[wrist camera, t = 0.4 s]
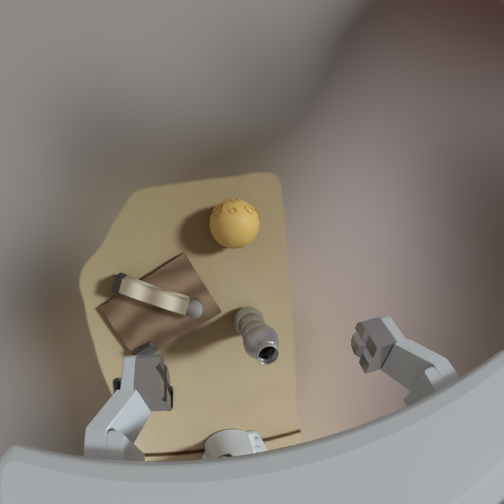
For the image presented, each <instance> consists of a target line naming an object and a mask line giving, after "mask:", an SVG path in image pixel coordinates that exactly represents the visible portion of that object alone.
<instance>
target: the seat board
mask: <svg viewBox="0 0 504 504" xmlns="http://www.w3.org/2000/svg"><path fill="white" fill-rule="evenodd" d="M141 281H144V282H147V283H150V284H153V285H155V286H158V287H161V288H164V289H167V290H170V291H173V292H176V293H180V294H183V295H186V296H189V297H190V299H192V298H197V299H199V300H200V301H201V303H202V314H201V316H200V317H198V318H191V317H189V316H188V314H187V311H186V314H185V315H182V314H179V313H176V312H173V311H170V310H167V309H164V308H161V307H158V306H155V305H152V304H149V303H146V302H143V301H140V300H137V299H134V298H132V297H129V296H126V295H123V294H121V293H120V294H119V295H117V296H116V297H114V298H113V299H111V300H110V301H108V302H107V303H105V304H104V305H102V306H101V307H100V309H101V311H102V312H103V314H104V315H105V317H106V318H107V320H108V321H109V323H110V324H111V325H112V327H113V328H114V330H115V331H116V333H117V334H118V335H119V337H120V338H121V339H122V341H123V342H124V343H125V345H126V346H127V348H128V349H129V350H130V351H131V353H132V354H133V355H153V354H155V351H157V350H159V349H160V348H162V347H164V346H166V345H167V344H169V343H171V342H172V341H174V340H176V339H178V338H179V337H181V336H183V335H184V334H186V333H188V332H189V331H191V330H193V329H194V328H196V327H198V326H199V325H201V324H203V323H204V322H206V321H208V320H209V319H211V318H213V317H214V316H216V315H218V314H219V313H221V310H220V308H219V307H218V305H217V304H216V302H215V301H214V299H213V298H212V296H211V295H210V293H209V291H208V290H207V288H206V287H205V285H204V284H203V282H202V281H201V279H200V277H199V276H198V274H197V273H196V271H195V269H194V268H193V266H192V265H191V263H190V261H189V260H188V258H187V257H186V255H185V253H183V254H181V255H180V256H178V257H176V258H175V259H173V260H172V261H170V262H168V263H167V264H165V265H164V266H162V267H160V268H159V269H157V270H156V271H154V272H153V273H151V274H150V275H148V276H146V277H145V278H143V279H142V280H141Z"/></svg>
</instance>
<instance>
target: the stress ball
mask: <svg viewBox="0 0 504 504" xmlns="http://www.w3.org/2000/svg"><path fill="white" fill-rule="evenodd" d="M259 220H260V217H259V214H258V212H257V210H256V209H254V208H253V207H252V206H251V205H250V204H249V203H247V202H245V201H243V200H239V199H230V200H226V201H224V202H222V203H220V204H219V205H217V206H215V208H214V209H213V212H212V214H211V216H210V218H209V222H210V231H211V233H212V236H213V237H214V239H215V240H216V241H217V242H218V243H219V244H221V245H222V246H224V247H227V248H233V249H236V248H242V247H244V246H246V245H248V244H249V243H251V242H252V241H253V240H254V238H255V237H256V235H257V233H258V230H259Z"/></svg>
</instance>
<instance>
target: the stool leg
mask: <svg viewBox="0 0 504 504" xmlns="http://www.w3.org/2000/svg"><path fill="white" fill-rule="evenodd" d="M112 291H113V292H116V293H121V294H123V295H126V296H129V297H132V298H134V299H137V300H140V301H143V302H146V303H149V304H152V305H155V306H158V307H161V308H164V309H167V310H170V311H173V312H176V313H179V314H182V315H185V314H186V311H187V314H188V316H189V317H191V318H198V317H200V316H201V314H202V303H201V301H200V300H199V299H197V298H192V299H190V297H189V296H186V295H183V294H180V293H176V292H173V291H170V290H167V289H164V288H161V287H158V286H155V285H153V284H150V283H147V282H144V281H141V280H138V279H135V278H132V277H130V276H127V275H126V274H123V273H119V274H117V275H116V276H115V279H114V283H113V287H112Z"/></svg>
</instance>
